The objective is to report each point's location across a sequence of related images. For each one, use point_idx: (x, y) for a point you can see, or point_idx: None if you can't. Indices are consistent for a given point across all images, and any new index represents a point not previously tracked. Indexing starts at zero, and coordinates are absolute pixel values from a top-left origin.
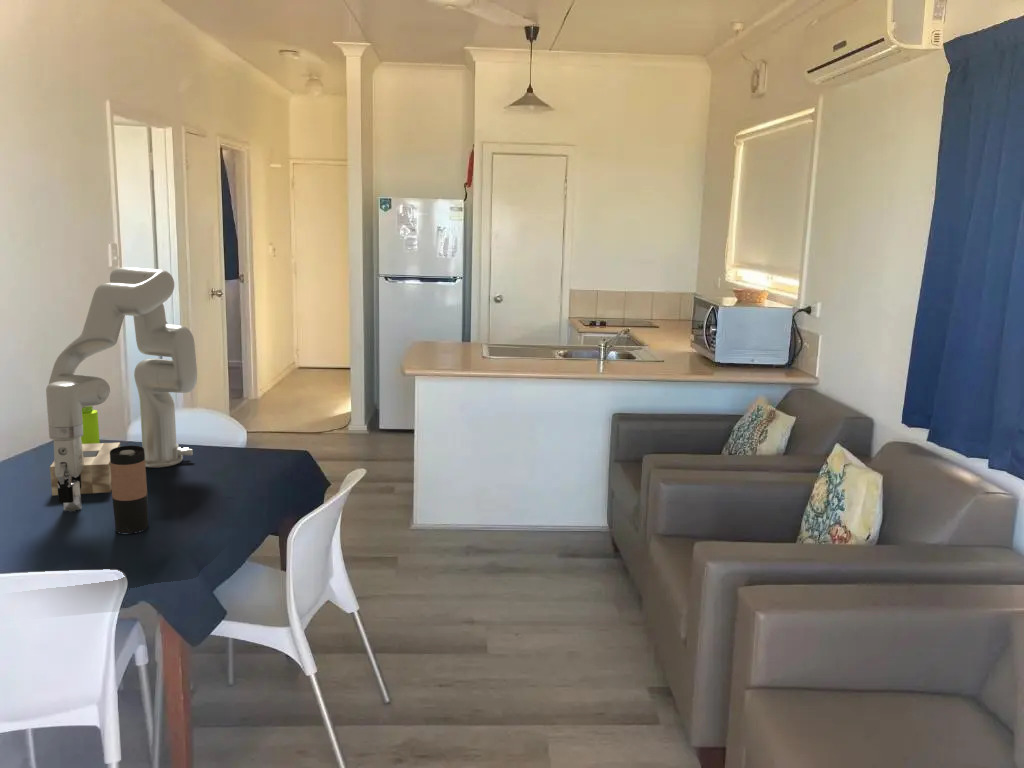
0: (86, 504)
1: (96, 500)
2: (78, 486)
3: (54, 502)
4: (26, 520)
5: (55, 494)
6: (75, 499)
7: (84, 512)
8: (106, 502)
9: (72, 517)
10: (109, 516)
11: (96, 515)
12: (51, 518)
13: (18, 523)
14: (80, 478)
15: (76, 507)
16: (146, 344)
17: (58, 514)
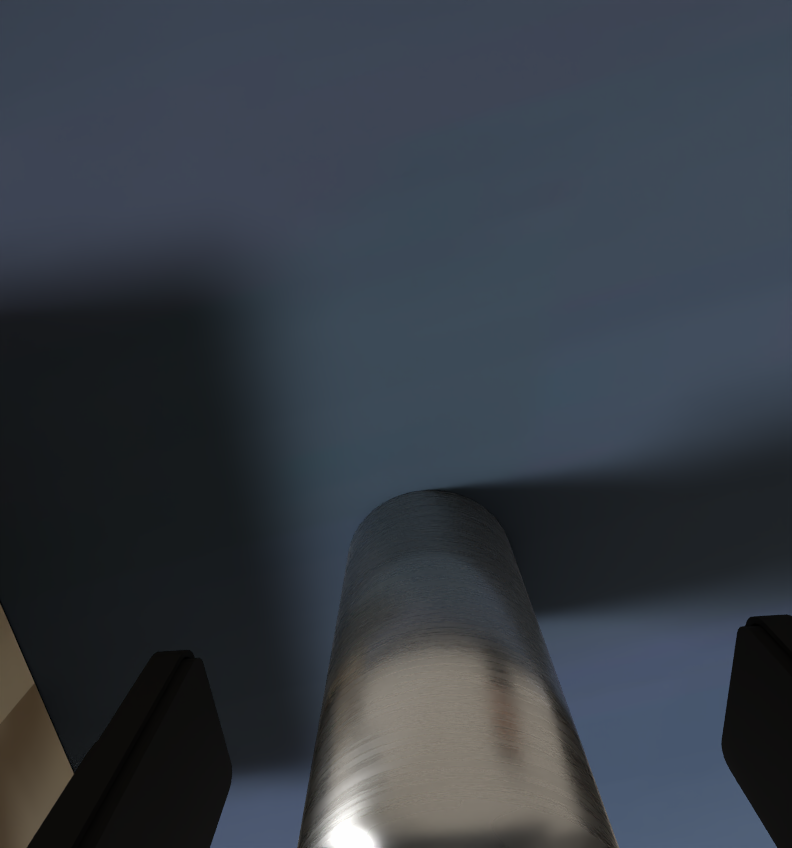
0: (301, 473)
1: (173, 404)
2: (501, 738)
3: (246, 737)
4: (651, 804)
5: (68, 779)
6: (523, 605)
7: (550, 429)
8: (235, 268)
9: (678, 504)
10: (771, 74)
11: (683, 267)
12: (654, 663)
13: (704, 831)
14: (82, 825)
15: (501, 536)
16: None
17: (561, 638)
